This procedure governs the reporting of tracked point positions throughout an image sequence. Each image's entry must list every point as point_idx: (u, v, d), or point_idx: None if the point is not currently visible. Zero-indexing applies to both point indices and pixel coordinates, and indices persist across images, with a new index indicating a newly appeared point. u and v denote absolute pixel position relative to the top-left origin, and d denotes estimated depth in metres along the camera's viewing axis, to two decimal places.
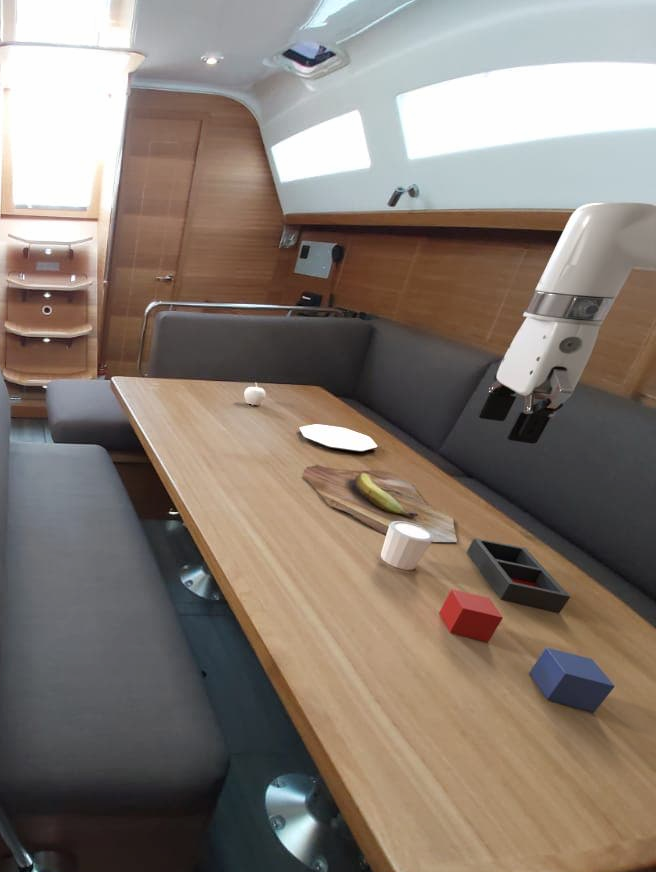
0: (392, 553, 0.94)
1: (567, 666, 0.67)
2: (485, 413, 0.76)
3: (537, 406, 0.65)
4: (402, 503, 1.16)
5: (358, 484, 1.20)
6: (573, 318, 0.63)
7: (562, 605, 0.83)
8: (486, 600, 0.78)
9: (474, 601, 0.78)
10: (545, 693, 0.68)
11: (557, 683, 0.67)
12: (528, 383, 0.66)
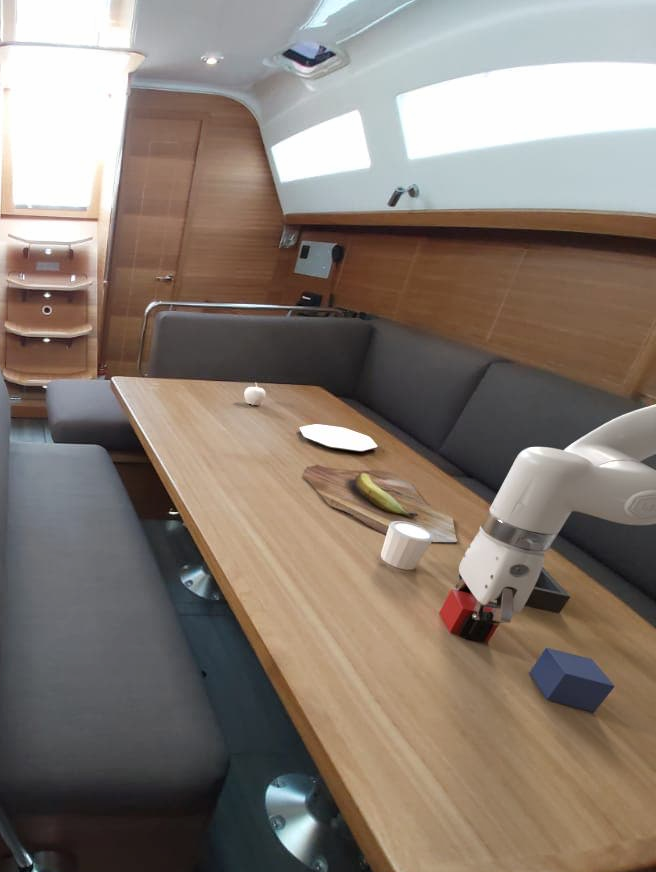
0: (392, 553, 0.94)
1: (567, 666, 0.67)
2: None
3: (483, 615, 0.74)
4: (402, 503, 1.16)
5: (358, 484, 1.20)
6: (521, 547, 0.69)
7: (562, 605, 0.83)
8: None
9: (474, 601, 0.78)
10: (545, 693, 0.68)
11: (557, 683, 0.67)
12: (484, 595, 0.73)
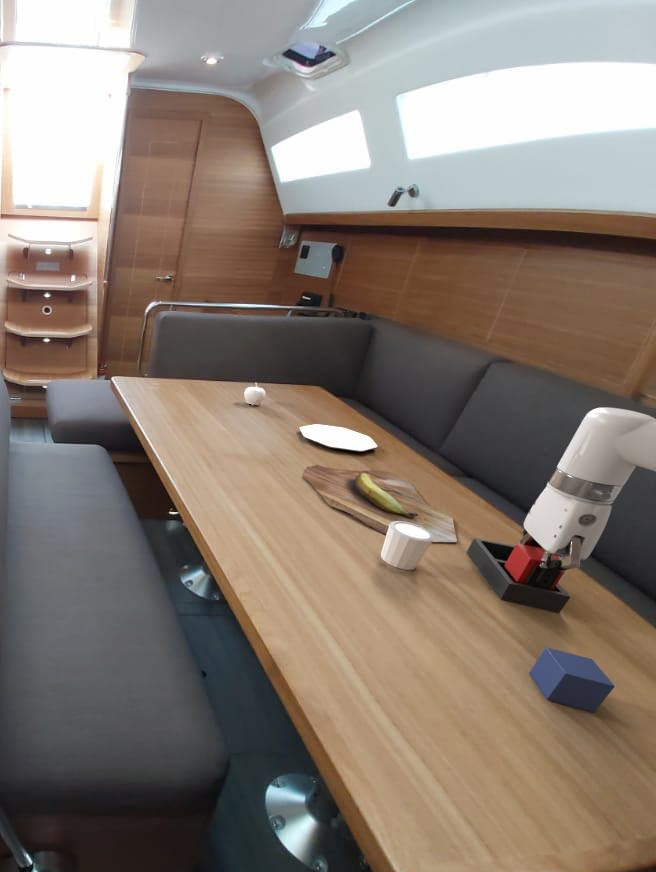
0: (392, 553, 0.94)
1: (567, 666, 0.67)
2: None
3: (551, 563, 0.82)
4: (402, 503, 1.16)
5: (358, 484, 1.20)
6: (589, 499, 0.77)
7: (562, 605, 0.83)
8: None
9: (540, 552, 0.86)
10: (545, 693, 0.68)
11: (557, 683, 0.67)
12: (552, 545, 0.80)
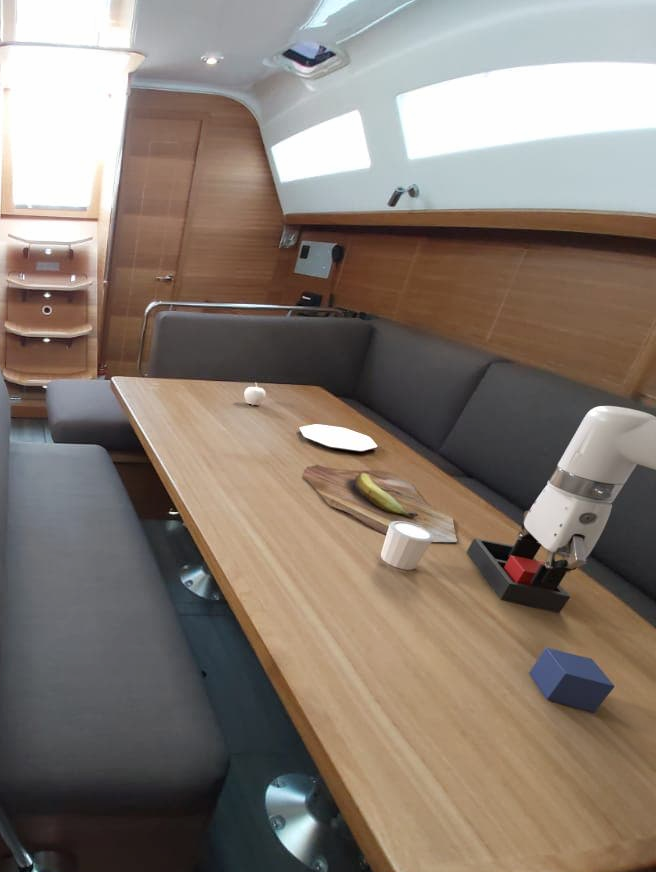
0: (392, 553, 0.94)
1: (567, 666, 0.67)
2: (514, 555, 0.90)
3: (556, 563, 0.80)
4: (402, 503, 1.16)
5: (358, 484, 1.20)
6: (590, 497, 0.77)
7: (562, 605, 0.83)
8: (543, 564, 0.87)
9: (533, 564, 0.87)
10: (545, 693, 0.68)
11: (557, 683, 0.67)
12: (553, 543, 0.80)
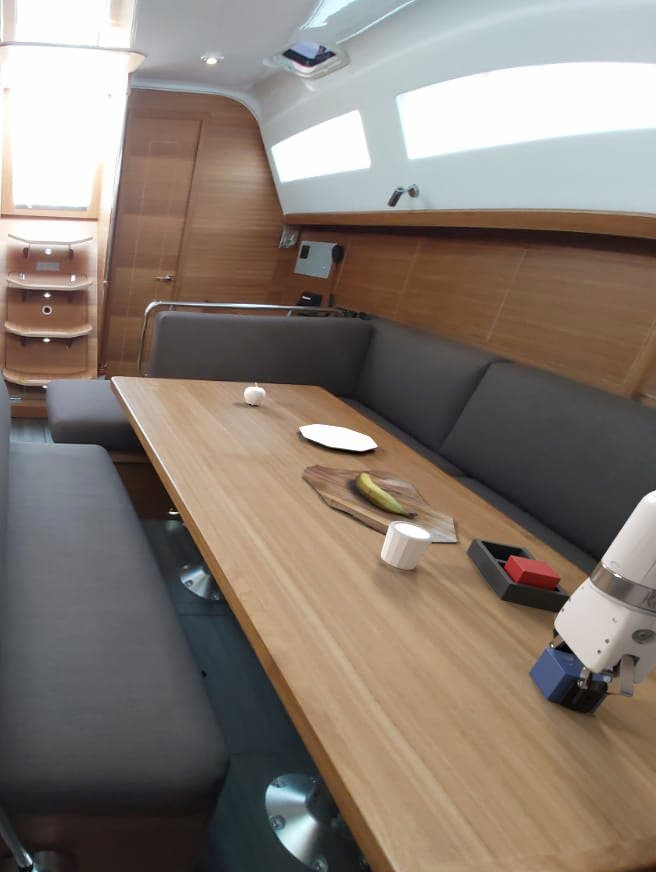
0: (392, 553, 0.94)
1: (567, 666, 0.67)
2: None
3: (592, 684, 0.63)
4: (402, 503, 1.16)
5: (358, 484, 1.20)
6: (647, 609, 0.58)
7: (562, 605, 0.83)
8: (543, 564, 0.87)
9: (533, 564, 0.87)
10: (545, 693, 0.68)
11: (557, 683, 0.67)
12: (596, 662, 0.62)
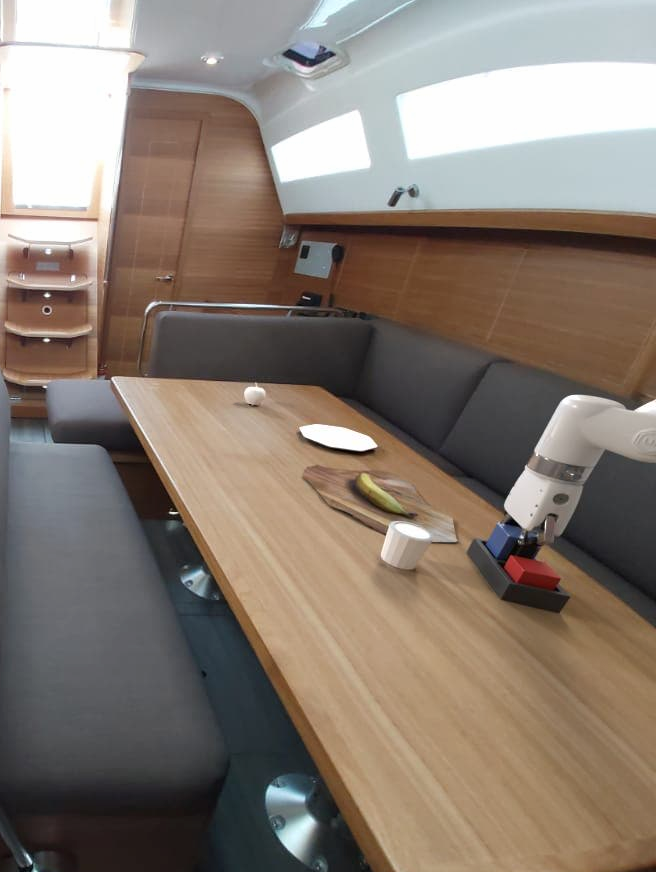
0: (392, 553, 0.94)
1: (511, 532, 0.91)
2: None
3: (527, 540, 0.88)
4: (402, 503, 1.16)
5: (358, 484, 1.20)
6: (563, 479, 0.83)
7: (562, 605, 0.83)
8: (543, 564, 0.87)
9: (533, 564, 0.87)
10: (495, 554, 0.93)
11: (503, 544, 0.91)
12: (529, 522, 0.87)
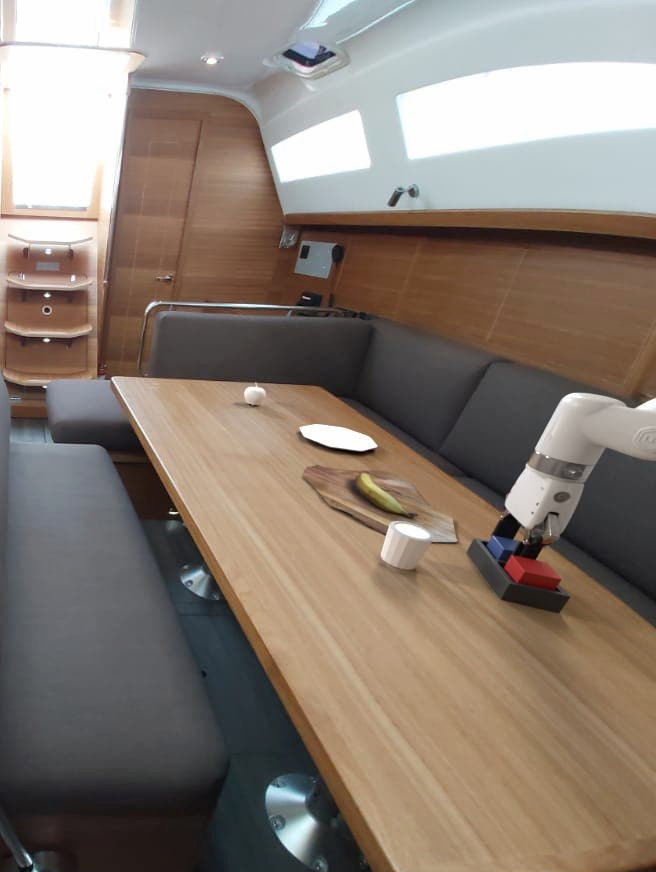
0: (392, 553, 0.94)
1: (506, 545, 0.92)
2: (496, 535, 0.96)
3: (533, 540, 0.87)
4: (402, 503, 1.16)
5: (358, 484, 1.20)
6: (564, 477, 0.83)
7: (562, 605, 0.83)
8: (544, 565, 0.86)
9: (534, 565, 0.86)
10: None
11: (498, 557, 0.92)
12: (530, 521, 0.86)
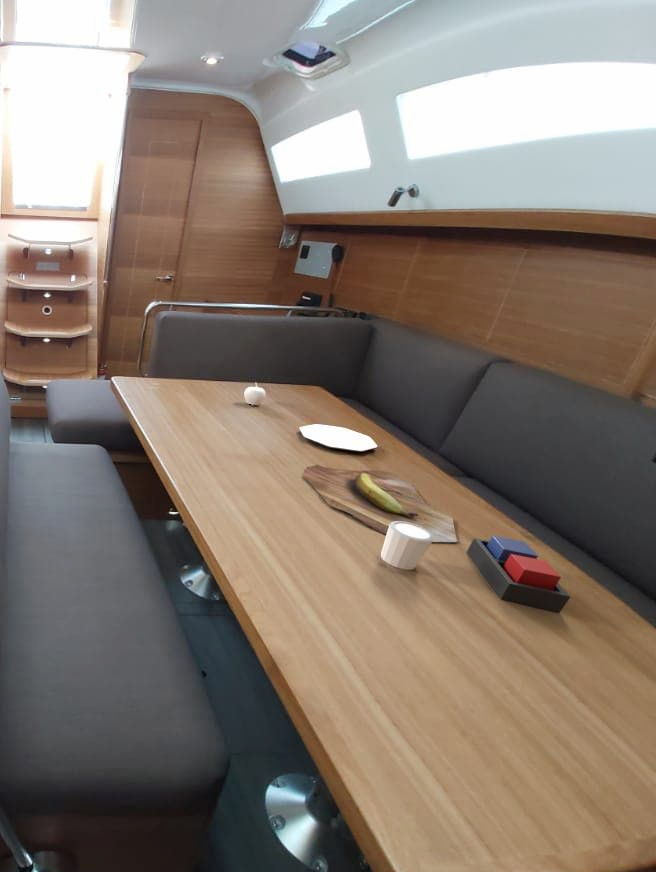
0: (392, 553, 0.94)
1: (506, 545, 0.92)
2: None
3: None
4: (402, 503, 1.16)
5: (358, 484, 1.20)
6: None
7: (562, 605, 0.83)
8: (543, 563, 0.87)
9: (533, 563, 0.87)
10: None
11: (498, 557, 0.92)
12: None
